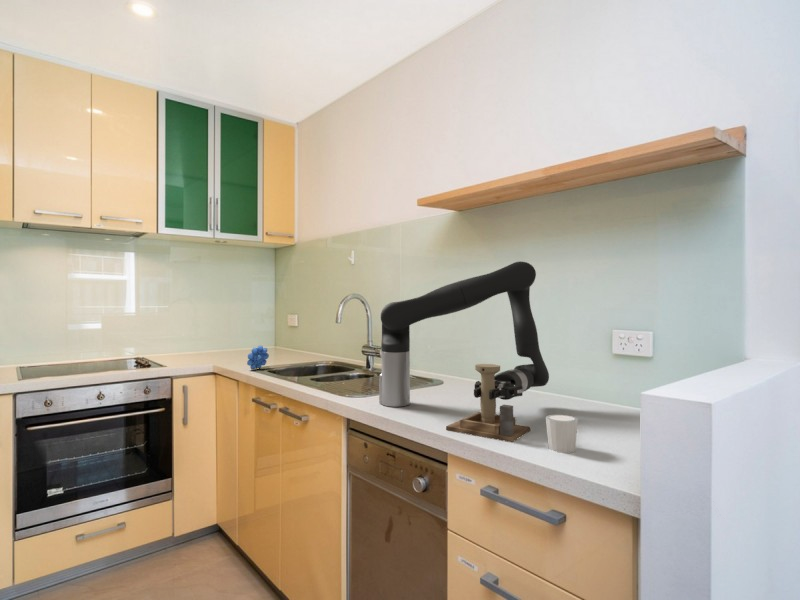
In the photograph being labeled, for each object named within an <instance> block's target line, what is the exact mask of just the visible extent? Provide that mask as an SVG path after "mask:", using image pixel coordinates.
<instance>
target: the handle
mask: <svg viewBox="0 0 800 600" xmlns="http://www.w3.org/2000/svg"><path fill="white" fill-rule="evenodd" d="M474 368H475V369H474V370H475V371H476V372H478V373H480V379H481V380H480V382H481V397H479V398H480V412H481V415H482V423H488V424H494V423H495V418H494V417H495V414H496V413H497V412H496V411H497V398H495V399H493V400H491V399H489V391H490V390H493V389H495V380H494V377H495V375H497V374H498V373H500V372H501V365H499V364H492V363H490V364H489V363H477V364H475V365H474ZM496 415H497V414H496Z"/></svg>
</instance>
